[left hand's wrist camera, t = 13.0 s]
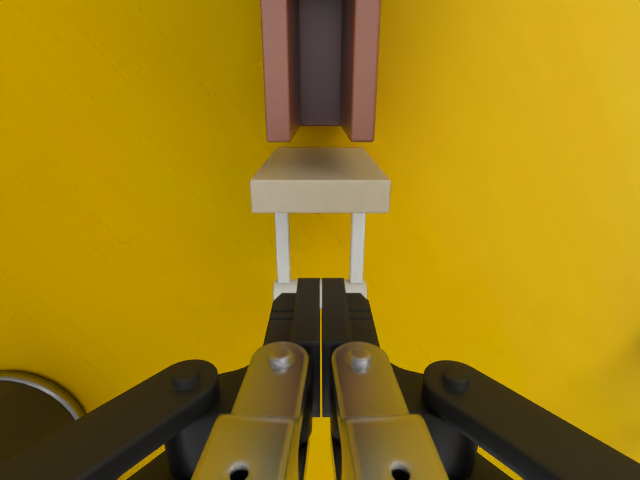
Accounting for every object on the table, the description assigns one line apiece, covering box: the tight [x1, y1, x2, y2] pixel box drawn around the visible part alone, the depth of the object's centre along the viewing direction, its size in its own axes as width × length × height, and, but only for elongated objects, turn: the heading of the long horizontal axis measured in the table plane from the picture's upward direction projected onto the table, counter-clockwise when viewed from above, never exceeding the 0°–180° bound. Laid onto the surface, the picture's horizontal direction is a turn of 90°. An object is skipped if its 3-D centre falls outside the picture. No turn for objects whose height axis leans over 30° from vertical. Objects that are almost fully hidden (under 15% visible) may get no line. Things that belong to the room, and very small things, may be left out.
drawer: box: [250, 0, 391, 309], centre depth 16 cm, size 23×5×9 cm, turn 0°
